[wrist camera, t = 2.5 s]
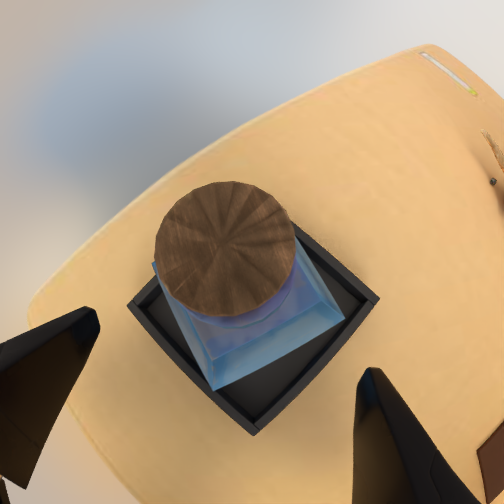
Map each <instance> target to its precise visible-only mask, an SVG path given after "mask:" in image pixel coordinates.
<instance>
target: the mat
mask: <svg viewBox="0 0 504 504" xmlns="http://www.w3.org/2000/svg"><path fill="white" fill-rule="evenodd" d="M477 454H478V458H479V463H480V467H481V472H482V477H483V482H484V488H485V495H486V502H487V504H490V503H491V502H492V501H493V500H494V499H495V498H496V497H497V496H498V495H499V494H500V493H501V492H502V491H503V490H504V422H503V423H502V424H501V425H500V426H499V428H498V429H497V430H496V431H495V432H494V433H493V434H492V436H491V437H490V438H489V439H488V440H487V441H486V442H485V443H484V444H483V445H482V446H481V447H480V448H479V449H478V450H477Z"/></svg>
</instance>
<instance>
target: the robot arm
mask: <svg viewBox="0 0 504 504" xmlns="http://www.w3.org/2000/svg"><path fill="white" fill-rule="evenodd" d="M99 333H100V324H99V320H98V317H97V314H96V311H95V310H94V309H93V308H90V307H87V306H84V307H81V308H79V309H77V310H74V311H72V312H70V313H68V314H65V315H63V316H61V317H59V318H56V319H54V320H52V321H50V322H47V323H45V324H43V325H41V326H38V327H36V328H34V329H32V330H29V331H27V332H25V333H23V334H21V335H19V336H16V337H14V338H12V339H10V340H7V341H6V342H3V343H1V344H0V504H10V501H9V497H8V494H7V490H6V486H5V482H4V480H3V479H2V477H5V478H7V479H8V480H10V481H12V482H13V483H14V484H16V485H18V486H20V487H21V488H23V489H25V490H26V488H27V486H28V484H29V481H30V478H31V476H32V473H33V471H34V468H35V466H36V463H37V461H38V459H39V456H40V454H41V450H42V449H43V447H44V444H45V442H46V440H47V438H48V436H49V434H50V431H51V430H52V427H53V425H54V423H55V421H56V419H57V417H58V415H59V413H60V411H61V409H62V407H63V405H64V403H65V401H66V399H67V397H68V396H69V394H70V392H71V390H72V388H73V386H74V384H75V383H76V381H77V379H78V377H79V375H80V373H81V372H82V370H83V368H84V366H85V364H86V362H87V359H88V357H89V355H90V353H91V350H92V348H93V346H94V344H95V342H96V339H97V337H98V335H99ZM352 504H481V503H480V502H479V501H478V500H477V499H476V498H475V496H474V495H473V494H472V493H471V492H470V490H469V489H468V488H467V487H466V486H465V484H464V483H463V482H462V481H461V480H460V479H459V477H458V476H457V475H456V473H455V472H454V471H453V470H452V468H451V467H450V466H449V464H448V463H447V461H446V460H445V459H444V457H443V456H442V454H441V453H440V451H439V450H438V449H437V447H436V446H435V444H434V443H433V441H432V440H431V438H430V437H429V435H428V434H427V432H426V431H425V430H424V428H423V427H422V425H421V424H420V422H419V421H418V419H417V418H416V417H415V415H414V414H413V412H412V411H411V410H410V408H409V407H408V405H407V404H406V403H405V401H404V400H403V398H402V397H401V396H400V394H399V393H398V391H397V390H396V389H395V387H394V386H393V385H392V383H391V382H390V380H389V379H388V378H387V376H386V375H385V374H384V372H383V371H382V370H381V369H380V368H374V367H368V368H367V369H366V370H365V372H364V374H363V376H362V377H361V379H360V381H359V382H358V385H357V390H356V404H355V417H354V428H353V493H352Z"/></svg>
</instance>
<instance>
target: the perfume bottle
mask: <svg viewBox="0 0 504 504" xmlns="http://www.w3.org/2000/svg"><path fill="white" fill-rule="evenodd" d="M154 258H155V261H154V262H153V263H152V266H153V268H154V271H155V273H156V276H157V278H158V280H159V283H160V285H161V287H162V290H163V292H164V294H165V296H166V299H167V301H168V303H169V305H170V308H171V310H172V312H173V314H174V316H175V318H176V321H177V323H178V325H179V327H180V329H181V331H182V333H183V335H184V337H185V339H186V341H187V343H188V345H189V347H190V349H191V351H192V353H193V355H194V357H195V359H196V361H197V363H198V365H199V367H200V368H201V370H202V372H203V374H204V376H205V378H206V380H207V381H208V383H209V385H210V387H211V389H212V390H213V391H215V390H217V389H219V388H221V387H223V386H226V385H228V384H230V383H232V382H234V381H236V380H238V379H240V378H242V377H244V376H246V375H248V374H250V373H252V372H254V371H256V370H258V369H260V368H262V367H264V366H265V365H267V364H269V363H271V362H273V361H275V360H277V359H278V358H280V357H282V356H284V355H286V354H287V353H289V352H291V351H293V350H294V349H296V348H298V347H300V346H301V345H303V344H305V343H307V342H308V341H310V340H312V339H313V338H315V337H317V336H318V335H320V334H322V333H323V332H325V331H326V330H328V329H330V328H331V327H333V326H334V325H336V324H338V323H339V322H341V321H342V320H344V319H345V317H344V315H343V313H342V312H341V310H340V308H339V307H338V305H337V303H336V302H335V300H334V298H333V296H332V295H331V293H330V291H329V290H328V288H327V286H326V285H325V283H324V282H323V280H322V278H321V277H320V275H319V273H318V272H317V270H316V268H315V267H314V265H313V264H312V262H311V260H310V259H309V257H308V256H307V254H306V252H305V251H304V249H303V248H302V246H301V244H300V243H299V241H298V240H297V238H296V237H295V232H294V228H293V226H292V223H291V221H290V219H289V217H288V214H287V212H286V210H285V209H284V208H283V207H282V206H281V205H280V204H279V203H278V202H277V201H276V200H275V198H274V197H273V196H272V195H270V194H268V193H266V192H265V191H263V190H261V189H259V188H257V187H256V186H253V185H249V184H244V183H240V182H235V181H230V182H216V183H211V184H208V185H205V186H202V187H200V188H197V189H194V190H193V191H191V192H190V193H188V194H187V195H185V196H184V197H183V198H181V199H180V200H178V201H177V202H176V203H175V204H174V206H173V207H172V208H171V209H170V211H169V212H168V213H167V214H166V216H165V217H164V219H163V221H162V223H161V226H160V228H159V231H158V233H157V235H156V243H155V254H154Z"/></svg>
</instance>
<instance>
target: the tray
mask: <svg viewBox="0 0 504 504" xmlns="http://www.w3.org/2000/svg"><path fill="white" fill-rule="evenodd" d="M290 221H291V220H290ZM291 223H292V226H293V228H294V232H295V237H296V238H297V240H298V241H299V243H300V244H301V246H302V248H303V249H304V251H305V252H306V254H307V256H308V257H309V259H310V260H311V262H312V264H313V265H314V267H315V268H316V270H317V272H318V273H319V275H320V277H321V278H322V280H323V282H324V283H325V285H326V286H327V288H328V290H329V291H330V293H331V295H332V296H333V298H334V300H335V302H336V303H337V305H338V307H339V308H340V310H341V312H342V313H343V315H344V317H345V319H344V320H342V321H341V322H339V323H338V324H336V325H334V326H333V327H331V328H330V329H328V330H326V331H325V332H323V333H322V334H320V335H318V336H317V337H315V338H313V339H312V340H310V341H308V342H307V343H305V344H303V345H301V346H300V347H298V348H296V349H294V350H293V351H291V352H289V353H287V354H286V355H284V356H282V357H280V358H278V359H277V360H275V361H273V362H271V363H269V364H267V365H265V366H264V367H262V368H260V369H258V370H256V371H254V372H252V373H250V374H248V375H246V376H244V377H242V378H240V379H238V380H236V381H234V382H232V383H230V384H228V385H226V386H223V387H221V388H219V389H217V390H215V391H213V390H212V389H211V387H210V385H209V383H208V381H207V380H206V378H205V376H204V374H203V372H202V370H201V368H200V367H199V365H198V363H197V361H196V359H195V357H194V355H193V353H192V351H191V349H190V347H189V345H188V343H187V341H186V339H185V337H184V335H183V333H182V331H181V329H180V327H179V325H178V323H177V321H176V318H175V316H174V314H173V312H172V310H171V308H170V305H169V303H168V301H167V299H166V296H165V294H164V292H163V290H162V287H161V285H160V283H159V280H158V278H157V276H156V275H155V276H154V277H153V278H152V279H151V280H150V281H149V282H148V283H147V284H146V285H145V286H144V287H143V288H142V290H141V291H140V292H139V293H138V294H137V295H136V296H135V297H134V298H133V300H131V301H130V302H129V303H128V304H127V307H128V309H129V310H130V311H131V312H132V314H133V315H134V316H135V317H136V319H137V320H138V321H139V322H140V323H141V325H142V326H143V327H144V328H145V329H146V331H147V332H148V333H149V334H150V335H151V337H152V338H153V339H154V340H155V341H156V342H157V343H158V345H159V346H160V347H161V348H162V349H163V350H164V351H165V352H166V354H167V355H168V356H169V357H170V358H171V359H172V360H173V361H174V362H175V363H176V364H177V366H178V367H179V368H180V369H181V370H182V371H183V372H184V373H185V374H186V375H187V376H188V377H189V378H190V379H191V380H192V381H193V382H194V383H195V384H196V385H197V386H198V387H199V388H200V389H201V390H202V391H203V392H204V393H205V394H206V395H207V396H208V397H209V398H210V399H211V400H212V401H213V402H215V403H216V404H217V405H218V406H219V407H220V408H221V409H222V410H223V411H224V412H225V413H226V414H228V415H229V416H230V417H231V418H232V419H233V420H234V421H236V422H237V423H238V424H239V425H240V426H241V427H242V428H244V429H245V430H246V431H247V432H248V433H250V434H251V435H252V436H255V435H256V434H257V433H258V432H259V431H260V430H262V429H263V428H264V427H265V426H266V425H267V424H268V423H269V422H271V421H272V420H273V419H274V418H275V417H276V416H277V415H278V414H279V413H280V412H281V411H282V410H283V409H284V408H285V407H286V406H287V405H288V404H289V403H290V402H292V401H293V400H294V399H295V398H296V397H297V396H298V394H299V393H300V392H301V391H302V390H303V389H304V388H305V387H306V386H307V385H308V384H309V383H310V382H311V381H312V380H313V379H314V378H315V377H316V376H317V375H318V374H319V372H320V371H321V370H322V369H323V368H324V367H325V366H326V365H327V364H328V362H329V361H330V360H331V359H332V358H333V357H334V356H335V355H336V353H337V352H338V351H339V350H340V349H341V348H342V346H343V345H344V344H345V343H346V342H347V340H348V339H349V338H350V337H351V336H352V334H353V333H354V332H355V331H356V329H357V328H358V327H359V326H360V324H361V323H362V322H363V321H364V319H365V318H366V317H367V315H368V314H369V313H370V311H371V310H372V309H373V307H374V305H376V303H377V302H378V301H379V299H380V298H379V297H378V296H377V295H376V294H375V293H374V292H373V291H372V290H370V289H369V288H368V287H367V286H366V285H365V284H364V283H363V282H362V281H360V280H359V279H358V278H357V277H356V276H355V275H354V274H353V273H352V272H350V271H349V270H348V269H347V268H346V267H345V266H344V265H342V264H341V263H340V262H339V261H338V260H337V259H336V258H334V257H333V256H332V255H331V254H330V253H329V252H328V251H326V250H325V249H324V248H323V247H322V246H321V245H319V244H318V243H317V242H316V241H315V240H313V239H312V238H311V237H310V236H309V235H308V234H306V233H305V232H304V231H303V230H302V229H300V228H299V227H298V226H297V225H296V224H294V223H293V222H292V221H291Z"/></svg>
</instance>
